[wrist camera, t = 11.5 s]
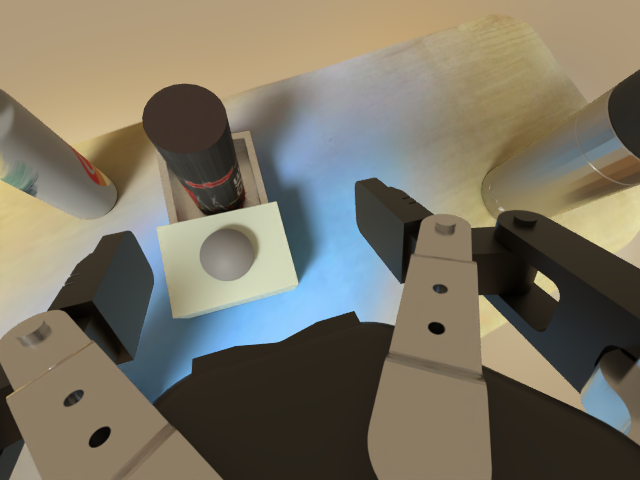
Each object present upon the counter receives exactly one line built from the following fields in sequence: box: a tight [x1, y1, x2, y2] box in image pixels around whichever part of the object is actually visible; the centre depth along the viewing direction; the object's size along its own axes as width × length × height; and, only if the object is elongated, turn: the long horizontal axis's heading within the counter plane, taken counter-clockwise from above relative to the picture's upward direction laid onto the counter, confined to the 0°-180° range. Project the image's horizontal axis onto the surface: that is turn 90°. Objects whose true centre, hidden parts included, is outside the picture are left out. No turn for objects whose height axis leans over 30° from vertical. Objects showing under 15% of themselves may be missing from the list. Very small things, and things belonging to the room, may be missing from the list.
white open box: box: [155, 131, 268, 224], centre depth 36 cm, size 11×10×4 cm
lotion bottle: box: [0, 89, 117, 219], centre depth 26 cm, size 6×6×20 cm
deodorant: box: [142, 84, 245, 216], centre depth 30 cm, size 6×6×15 cm
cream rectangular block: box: [157, 201, 299, 318], centre depth 33 cm, size 12×9×7 cm
